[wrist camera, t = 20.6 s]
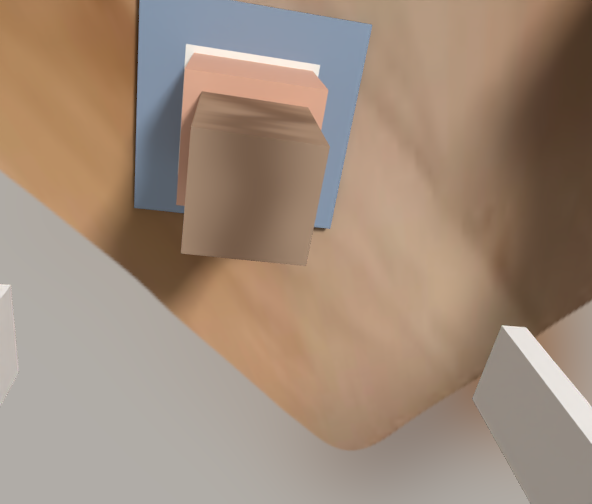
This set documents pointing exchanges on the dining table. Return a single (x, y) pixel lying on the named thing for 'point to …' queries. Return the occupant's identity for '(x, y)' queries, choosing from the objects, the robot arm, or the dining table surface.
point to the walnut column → (252, 180)
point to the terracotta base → (243, 93)
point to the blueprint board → (244, 46)
